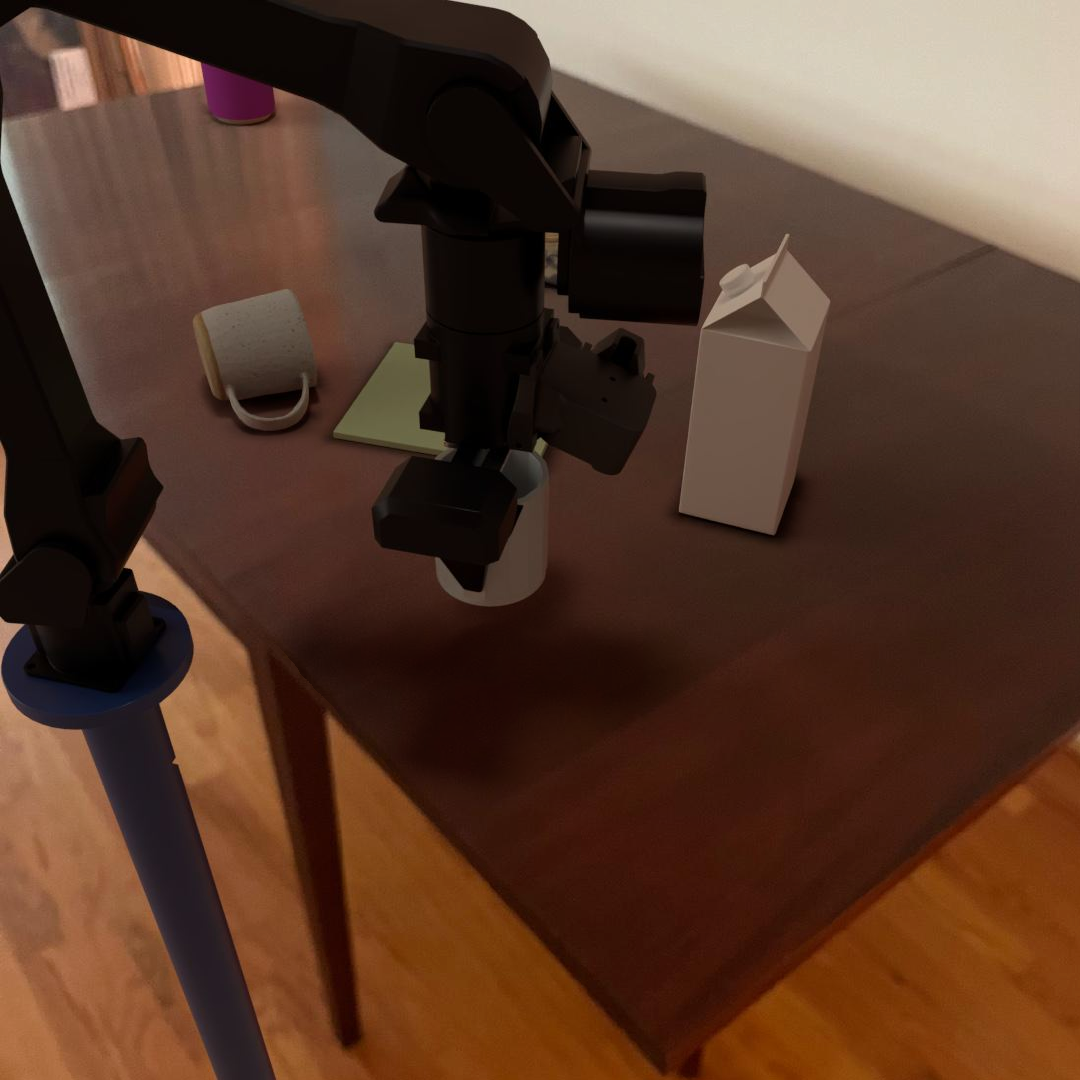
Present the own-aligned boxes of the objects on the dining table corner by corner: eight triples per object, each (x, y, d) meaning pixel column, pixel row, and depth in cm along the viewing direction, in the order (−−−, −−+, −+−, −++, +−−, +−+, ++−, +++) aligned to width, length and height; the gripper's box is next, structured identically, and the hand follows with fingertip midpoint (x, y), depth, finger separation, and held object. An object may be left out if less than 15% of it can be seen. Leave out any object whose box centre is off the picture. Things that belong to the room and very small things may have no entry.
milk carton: (794, 482, 86) (842, 243, 73) (774, 538, 81) (822, 292, 68) (702, 460, 87) (734, 223, 74) (677, 514, 82) (707, 270, 69)
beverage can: (290, 112, 136) (276, 3, 128) (244, 132, 131) (227, 19, 123) (242, 98, 139) (225, -9, 131) (195, 116, 134) (175, 6, 126)
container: (421, 595, 64) (413, 497, 60) (455, 526, 69) (450, 430, 64) (530, 615, 64) (531, 517, 59) (557, 544, 68) (560, 448, 64)
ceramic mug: (200, 374, 93) (182, 288, 88) (300, 355, 96) (287, 271, 91) (229, 446, 86) (211, 358, 81) (335, 423, 89) (324, 337, 84)
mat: (333, 438, 87) (332, 431, 87) (395, 347, 98) (395, 341, 97) (536, 472, 85) (536, 465, 85) (578, 376, 95) (578, 370, 95)
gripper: (609, 438, 47) (592, 694, 58) (680, 244, 61) (656, 480, 71) (353, 397, 49) (382, 654, 59) (479, 217, 62) (484, 452, 73)
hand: (490, 551), depth 65 cm, fingers closed on container, 6 cm apart
